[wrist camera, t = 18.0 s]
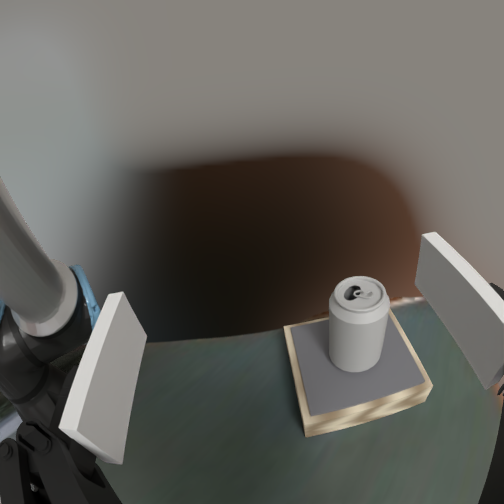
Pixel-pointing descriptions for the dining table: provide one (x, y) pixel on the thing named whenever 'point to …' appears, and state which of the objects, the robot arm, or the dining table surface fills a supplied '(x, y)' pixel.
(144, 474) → the dining table surface
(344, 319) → the can
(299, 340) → the dock
